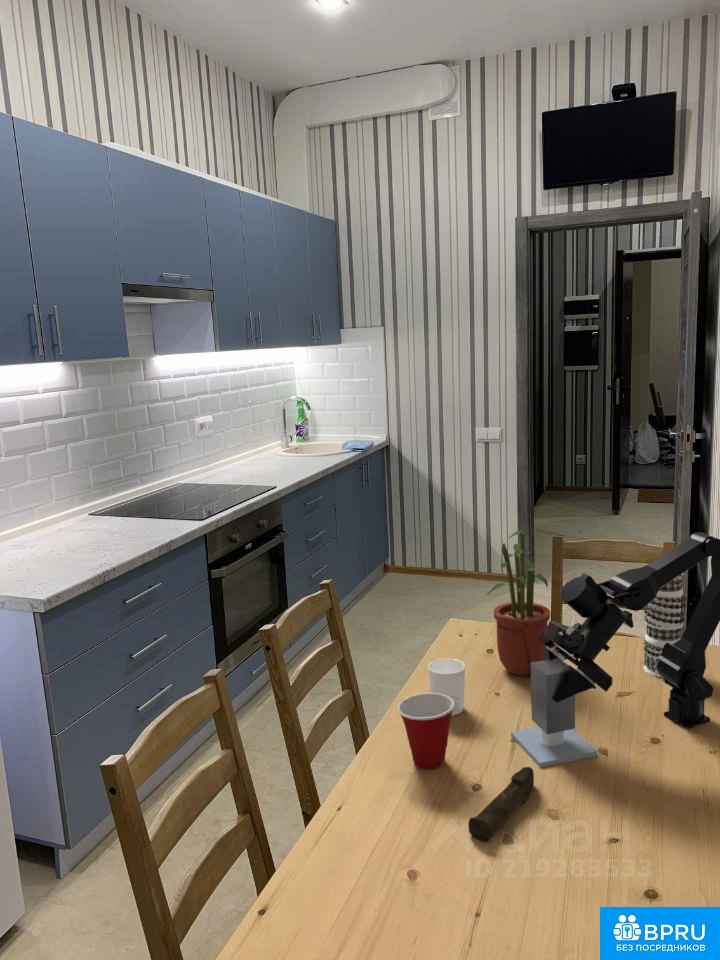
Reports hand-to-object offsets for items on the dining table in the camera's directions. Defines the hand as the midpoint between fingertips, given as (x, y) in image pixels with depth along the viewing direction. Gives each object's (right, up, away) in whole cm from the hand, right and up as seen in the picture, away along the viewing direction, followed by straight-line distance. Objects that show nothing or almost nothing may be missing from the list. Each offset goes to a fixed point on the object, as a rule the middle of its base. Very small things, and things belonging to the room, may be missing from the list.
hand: (546, 693), depth 145 cm
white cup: (-17, -9, +19) cm, 27 cm away
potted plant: (+2, -4, +38) cm, 38 cm away
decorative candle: (+35, -4, +32) cm, 48 cm away
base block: (+2, -11, +2) cm, 12 cm away
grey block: (+2, -6, +1) cm, 7 cm away
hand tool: (-11, -15, -17) cm, 26 cm away
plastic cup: (-23, -13, -1) cm, 26 cm away
